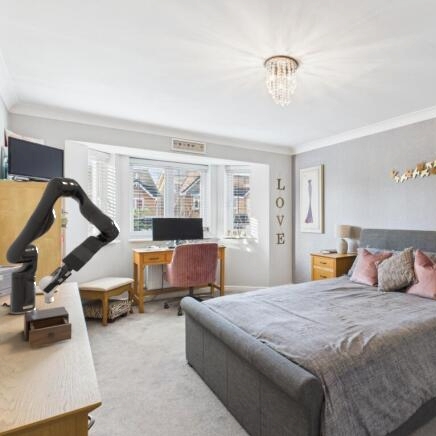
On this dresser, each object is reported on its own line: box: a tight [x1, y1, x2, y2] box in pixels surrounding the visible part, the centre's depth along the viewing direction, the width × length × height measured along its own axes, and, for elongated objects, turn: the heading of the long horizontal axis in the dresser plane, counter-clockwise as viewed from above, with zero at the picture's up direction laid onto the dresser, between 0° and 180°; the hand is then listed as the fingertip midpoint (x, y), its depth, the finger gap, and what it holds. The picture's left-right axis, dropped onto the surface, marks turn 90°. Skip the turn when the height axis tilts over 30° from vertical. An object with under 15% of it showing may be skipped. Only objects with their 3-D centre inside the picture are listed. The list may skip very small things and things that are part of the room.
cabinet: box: [23, 306, 70, 341], centre depth 130 cm, size 14×14×8 cm
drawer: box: [28, 317, 72, 349], centre depth 120 cm, size 14×12×6 cm
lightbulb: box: [38, 275, 59, 304], centre depth 125 cm, size 6×6×11 cm
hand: (43, 290), depth 124 cm, fingers closed on lightbulb, 6 cm apart
